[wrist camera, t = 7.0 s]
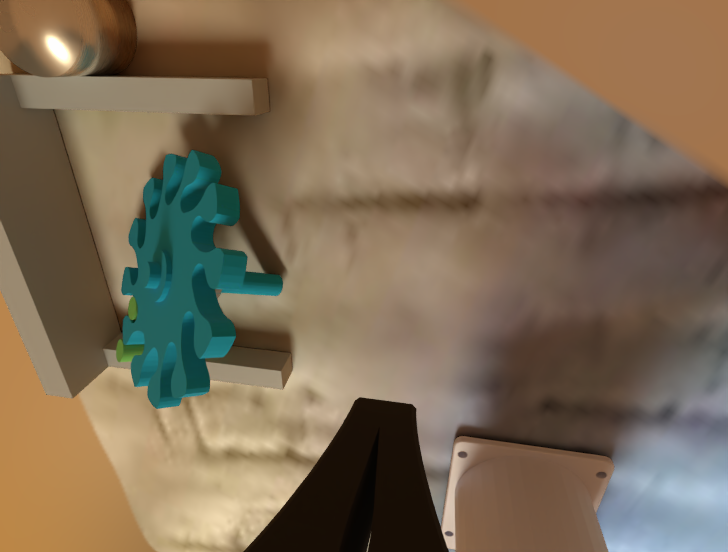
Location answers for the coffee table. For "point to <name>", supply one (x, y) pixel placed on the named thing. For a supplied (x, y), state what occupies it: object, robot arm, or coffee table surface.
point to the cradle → (70, 227)
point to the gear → (183, 280)
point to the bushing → (68, 36)
